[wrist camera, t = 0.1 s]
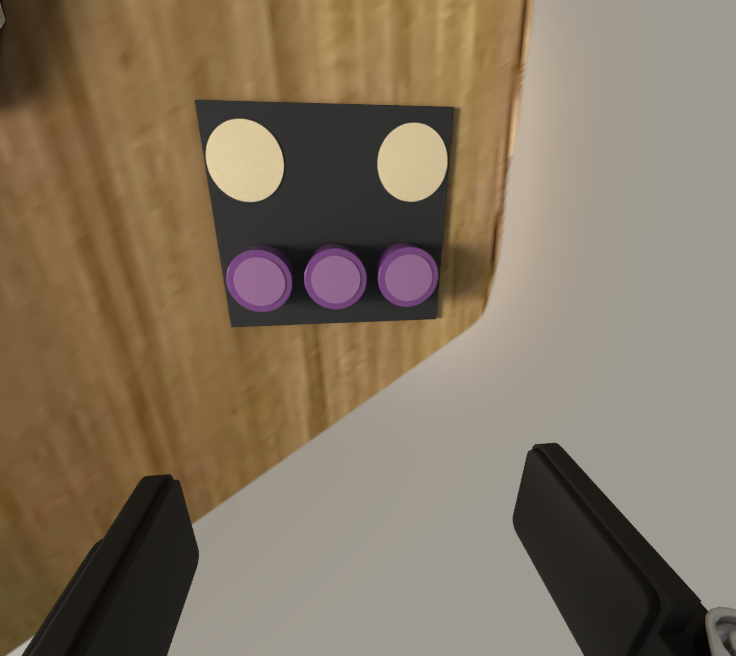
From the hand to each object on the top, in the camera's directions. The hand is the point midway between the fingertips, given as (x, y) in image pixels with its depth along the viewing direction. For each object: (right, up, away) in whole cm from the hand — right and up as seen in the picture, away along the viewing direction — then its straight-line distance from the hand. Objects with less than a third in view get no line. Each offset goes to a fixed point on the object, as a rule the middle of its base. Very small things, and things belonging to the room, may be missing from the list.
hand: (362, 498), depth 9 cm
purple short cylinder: (+4, +11, +29) cm, 32 cm away
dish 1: (-11, +10, +28) cm, 32 cm away
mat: (-4, +16, +27) cm, 31 cm away
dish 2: (-4, +11, +29) cm, 31 cm away
